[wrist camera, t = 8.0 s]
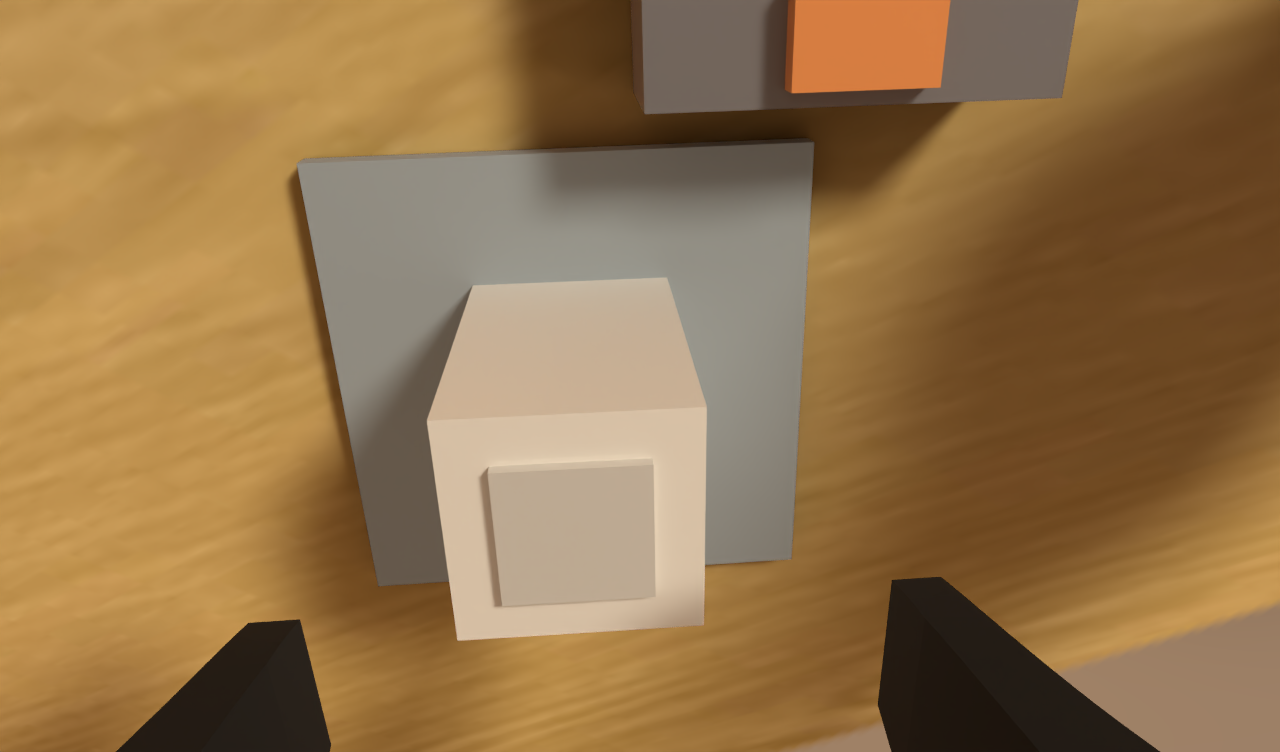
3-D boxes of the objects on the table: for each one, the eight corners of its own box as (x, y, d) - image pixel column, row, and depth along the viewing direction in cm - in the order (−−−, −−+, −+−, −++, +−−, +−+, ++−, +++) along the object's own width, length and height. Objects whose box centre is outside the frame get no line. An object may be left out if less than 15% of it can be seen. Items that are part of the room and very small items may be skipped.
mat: (808, 137, 17) (814, 142, 17) (786, 547, 22) (791, 559, 21) (303, 158, 17) (297, 163, 16) (382, 573, 21) (378, 586, 21)
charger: (666, 277, 18) (708, 413, 12) (668, 446, 20) (705, 633, 14) (472, 285, 18) (424, 427, 12) (491, 454, 19) (455, 649, 14)
